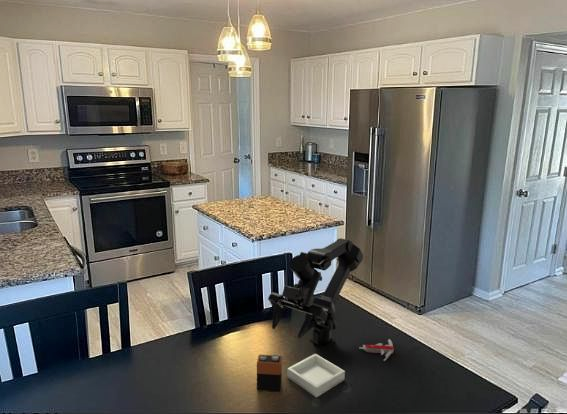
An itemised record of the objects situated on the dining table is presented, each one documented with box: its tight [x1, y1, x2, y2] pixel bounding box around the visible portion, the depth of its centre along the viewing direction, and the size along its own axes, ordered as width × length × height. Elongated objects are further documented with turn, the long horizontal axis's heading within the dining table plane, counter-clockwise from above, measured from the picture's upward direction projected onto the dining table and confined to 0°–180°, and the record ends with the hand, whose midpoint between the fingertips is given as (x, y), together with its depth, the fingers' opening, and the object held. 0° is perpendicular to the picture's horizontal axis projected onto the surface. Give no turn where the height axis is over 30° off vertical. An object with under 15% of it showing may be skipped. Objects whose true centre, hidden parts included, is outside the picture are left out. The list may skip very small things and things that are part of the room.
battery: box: [256, 353, 283, 393], centre depth 118 cm, size 4×7×10 cm, turn 86°
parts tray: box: [286, 353, 346, 398], centre depth 123 cm, size 12×12×3 cm
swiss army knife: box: [358, 338, 395, 362], centre depth 138 cm, size 12×14×2 cm
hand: (285, 333), depth 123 cm, fingers open, 9 cm apart
